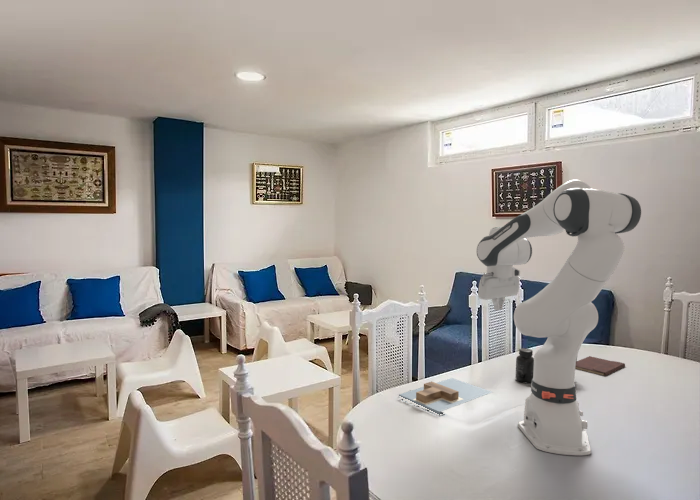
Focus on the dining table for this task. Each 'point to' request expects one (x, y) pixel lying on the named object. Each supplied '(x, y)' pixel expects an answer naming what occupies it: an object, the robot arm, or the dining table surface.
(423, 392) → the t block
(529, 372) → the supplement bottle
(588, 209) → the robot arm
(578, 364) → the notebook
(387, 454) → the dining table surface
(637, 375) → the dining table surface
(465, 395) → the board
